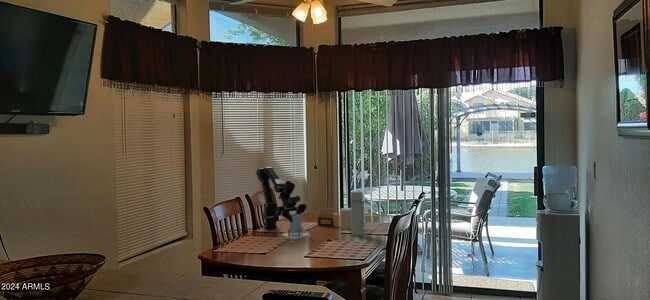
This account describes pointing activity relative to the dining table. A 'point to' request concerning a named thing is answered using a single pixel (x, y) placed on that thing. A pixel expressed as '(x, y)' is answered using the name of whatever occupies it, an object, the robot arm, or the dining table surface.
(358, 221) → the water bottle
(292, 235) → the base plate
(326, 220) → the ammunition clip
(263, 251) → the dining table surface
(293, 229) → the block
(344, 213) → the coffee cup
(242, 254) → the dining table surface
